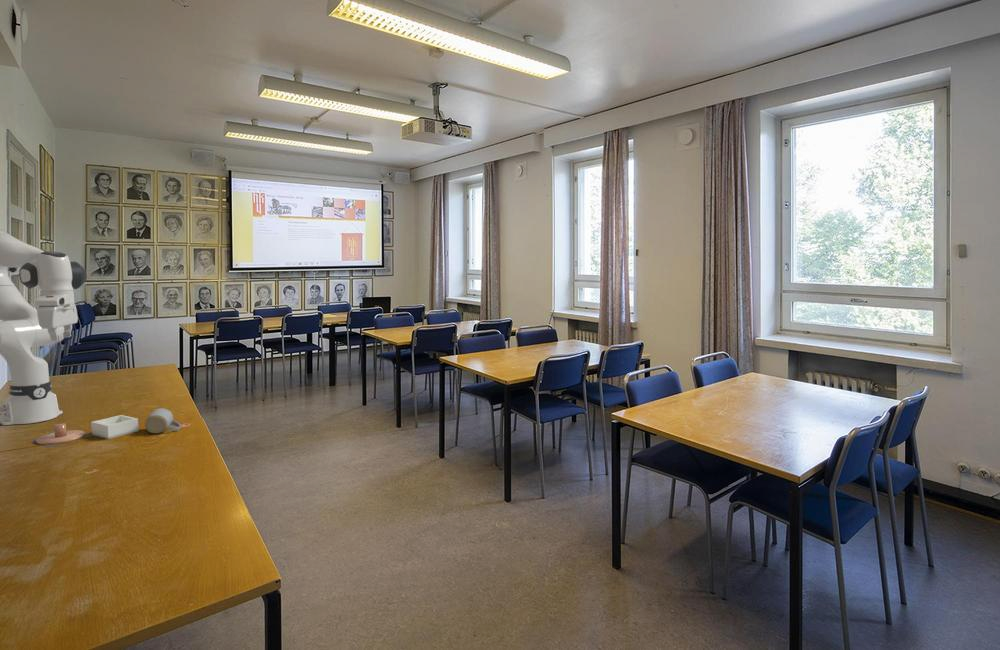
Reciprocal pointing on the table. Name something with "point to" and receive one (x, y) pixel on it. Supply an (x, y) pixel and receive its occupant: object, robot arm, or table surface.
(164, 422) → the ceramic mug
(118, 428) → the dish
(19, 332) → the robot arm
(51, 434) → the lid
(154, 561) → the table surface
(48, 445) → the mat
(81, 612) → the table surface
